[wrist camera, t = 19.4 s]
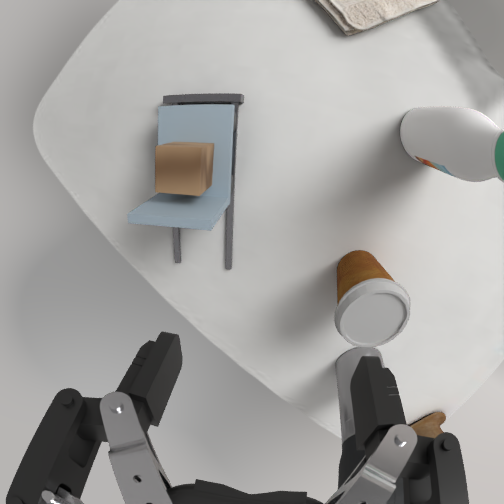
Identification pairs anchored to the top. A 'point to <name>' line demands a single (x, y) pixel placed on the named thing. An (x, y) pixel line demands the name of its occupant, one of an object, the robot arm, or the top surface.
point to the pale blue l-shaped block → (218, 194)
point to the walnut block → (184, 167)
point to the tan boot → (430, 425)
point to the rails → (230, 209)
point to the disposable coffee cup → (369, 301)
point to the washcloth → (368, 12)
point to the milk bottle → (455, 142)
